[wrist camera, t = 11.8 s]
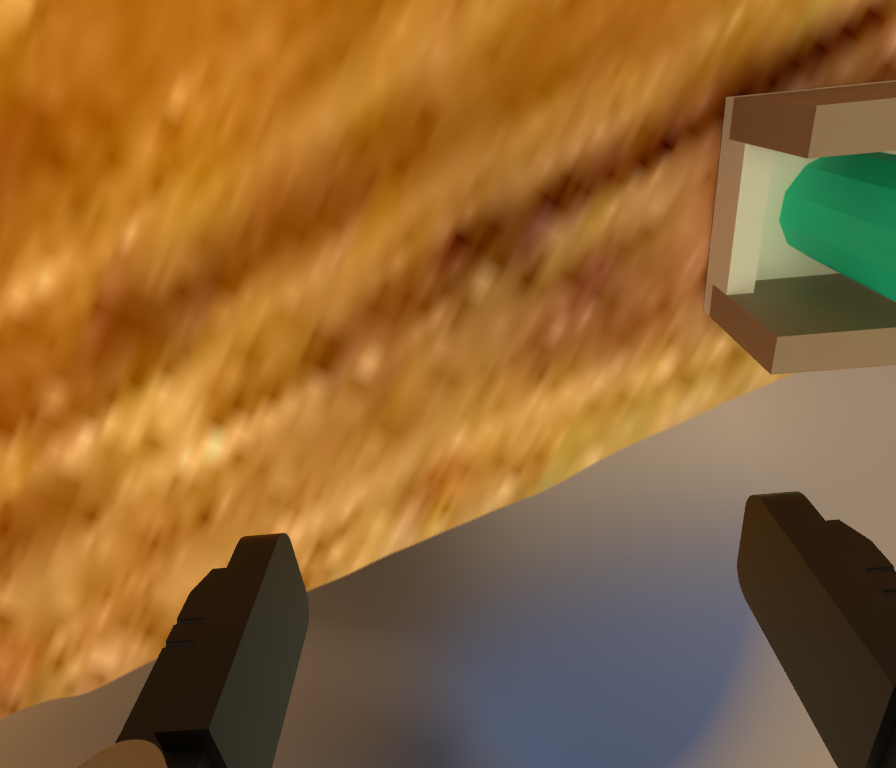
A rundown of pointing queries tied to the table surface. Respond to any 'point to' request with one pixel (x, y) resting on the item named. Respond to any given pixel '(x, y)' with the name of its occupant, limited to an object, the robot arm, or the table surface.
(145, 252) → the table surface
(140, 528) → the table surface
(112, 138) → the table surface
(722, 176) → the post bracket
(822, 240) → the candle
